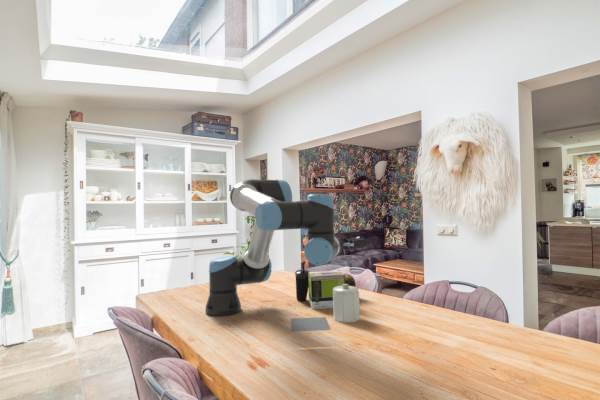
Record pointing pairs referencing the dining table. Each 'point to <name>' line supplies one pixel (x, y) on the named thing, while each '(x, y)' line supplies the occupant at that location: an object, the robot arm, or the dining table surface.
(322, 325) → the plate
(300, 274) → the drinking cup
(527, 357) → the dining table surface
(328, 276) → the tea box
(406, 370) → the dining table surface
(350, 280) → the shell
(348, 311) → the ribbed plastic canister
